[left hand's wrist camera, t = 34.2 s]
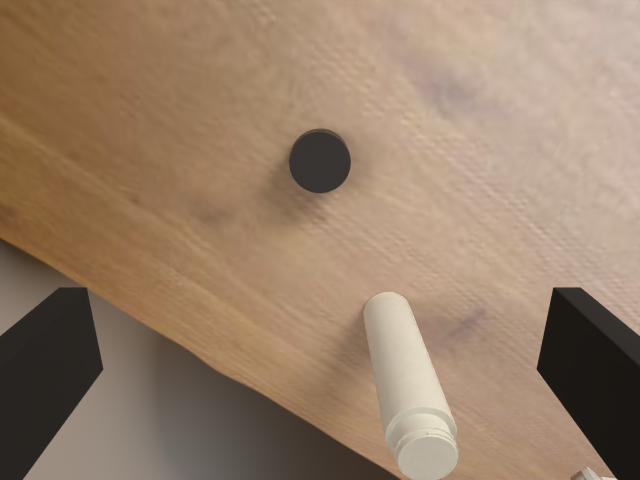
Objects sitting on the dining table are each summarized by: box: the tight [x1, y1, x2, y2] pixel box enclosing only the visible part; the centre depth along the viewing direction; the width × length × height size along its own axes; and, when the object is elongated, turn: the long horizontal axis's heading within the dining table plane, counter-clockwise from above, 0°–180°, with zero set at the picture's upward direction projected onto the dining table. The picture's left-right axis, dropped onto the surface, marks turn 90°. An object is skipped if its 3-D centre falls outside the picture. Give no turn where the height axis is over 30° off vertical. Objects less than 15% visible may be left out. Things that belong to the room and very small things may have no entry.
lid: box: [289, 129, 351, 193], centre depth 39 cm, size 5×5×2 cm
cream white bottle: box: [363, 292, 459, 480], centre depth 37 cm, size 5×5×19 cm
